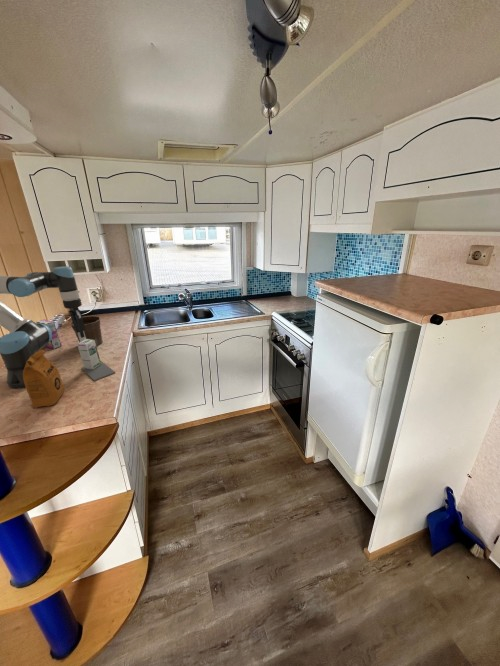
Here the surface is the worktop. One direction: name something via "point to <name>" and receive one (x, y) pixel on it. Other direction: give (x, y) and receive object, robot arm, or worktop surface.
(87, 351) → the syrup box
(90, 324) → the plant pot
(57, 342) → the candy bar box
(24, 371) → the coffee package
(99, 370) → the rubber mat
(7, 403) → the worktop surface
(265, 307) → the worktop surface
